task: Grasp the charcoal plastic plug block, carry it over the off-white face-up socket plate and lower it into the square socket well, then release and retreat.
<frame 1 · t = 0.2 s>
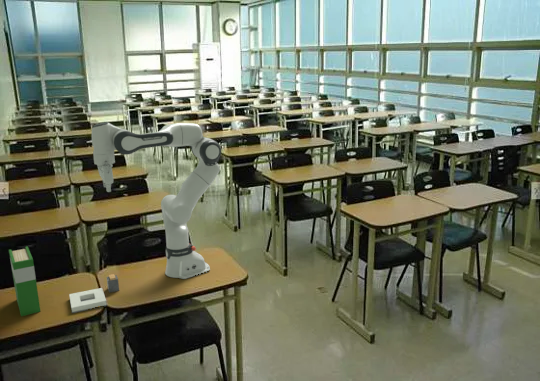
hand: (107, 189, 213), 47 cm above the table, fingers open, 8 cm apart
plug: (113, 289, 219), on the table
hardback book: (28, 305, 205), on the table
socket plate: (88, 302, 207), on the table
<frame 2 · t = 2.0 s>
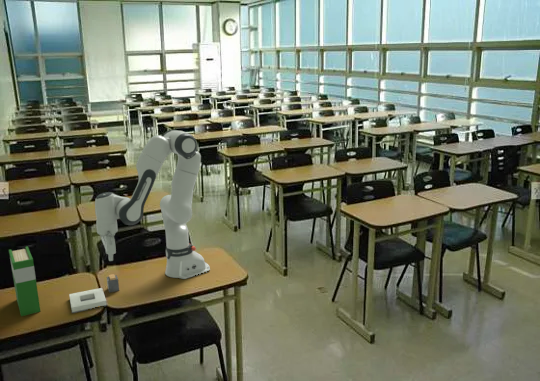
hand: (109, 256, 215), 16 cm above the table, fingers open, 8 cm apart
nothing on the table moved.
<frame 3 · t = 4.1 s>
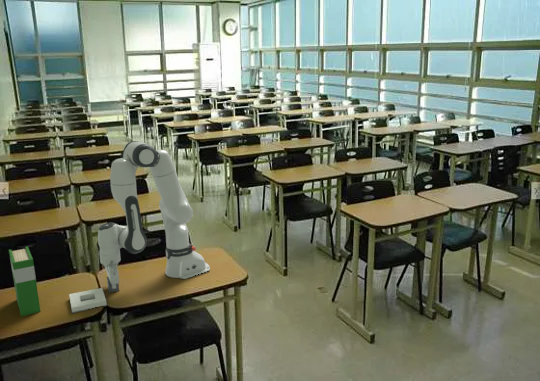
hand: (113, 285, 219), 2 cm above the table, fingers closed on plug, 4 cm apart
plug: (113, 289, 219), on the table, touching gripper
everything else where it was.
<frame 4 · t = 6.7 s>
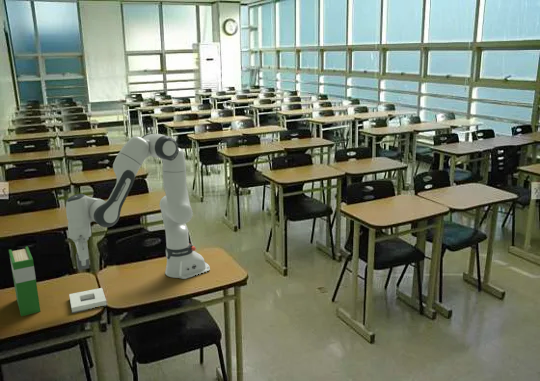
hand: (83, 262, 202), 19 cm above the table, fingers closed on plug, 4 cm apart
plug: (83, 267, 203), point 17 cm above the table, touching gripper
everything else where it was.
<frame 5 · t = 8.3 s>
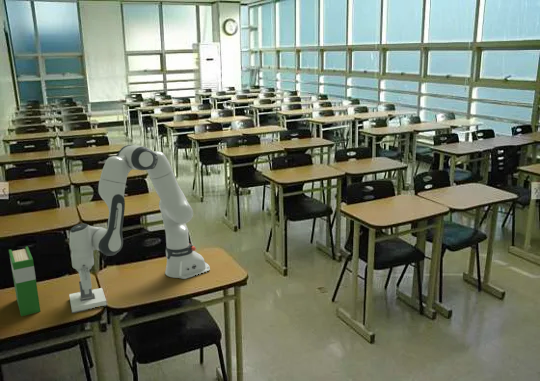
hand: (86, 290, 206), 6 cm above the table, fingers closed on plug, 4 cm apart
plug: (86, 295, 206), point 4 cm above the table, touching gripper
everything else where it was.
when the fingers open (4 cm above the table, at t = 9.4 s): plug drops 1 cm, resting on socket plate.
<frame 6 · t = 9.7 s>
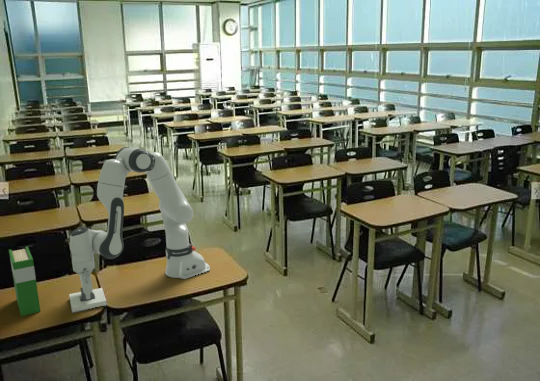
hand: (87, 294, 206), 4 cm above the table, fingers open, 8 cm apart
plug: (87, 301, 207), resting on socket plate
everything else where it was.
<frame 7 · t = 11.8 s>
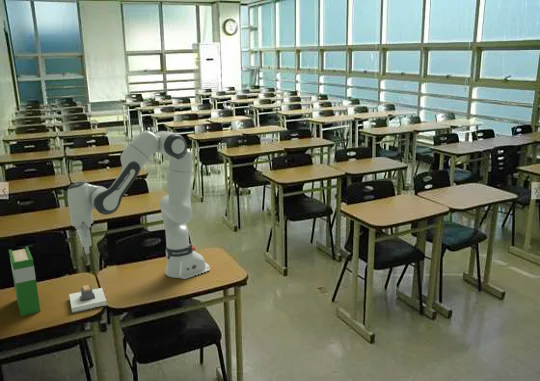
hand: (86, 249, 205), 24 cm above the table, fingers open, 8 cm apart
nothing on the table moved.
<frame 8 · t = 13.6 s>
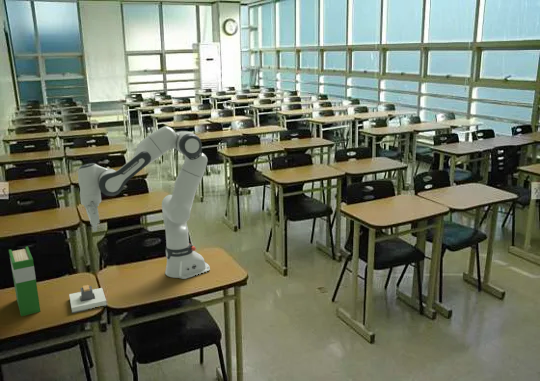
hand: (94, 227, 216), 29 cm above the table, fingers open, 8 cm apart
nothing on the table moved.
at the end: plug 0.0 cm off-centre on the socket plate, point 0.5 cm above the socket plate's base; plug tilted 0°; the gripper is holding nothing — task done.
